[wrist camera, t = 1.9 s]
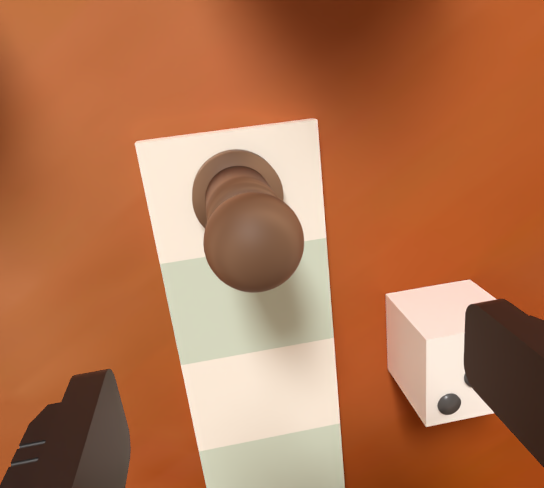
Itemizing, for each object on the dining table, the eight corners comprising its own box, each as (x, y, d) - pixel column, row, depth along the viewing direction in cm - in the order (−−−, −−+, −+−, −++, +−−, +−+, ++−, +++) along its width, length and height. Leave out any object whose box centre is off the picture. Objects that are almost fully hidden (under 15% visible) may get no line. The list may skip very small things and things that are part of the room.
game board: (313, 118, 27) (317, 119, 26) (341, 486, 37) (345, 497, 36) (137, 140, 26) (134, 143, 25) (213, 514, 36) (214, 525, 35)
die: (469, 279, 32) (528, 322, 27) (466, 354, 34) (520, 409, 29) (385, 293, 32) (427, 341, 26) (387, 369, 34) (427, 428, 28)
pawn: (275, 143, 26) (322, 182, 16) (284, 228, 28) (332, 310, 18) (185, 155, 26) (178, 203, 16) (199, 241, 27) (202, 332, 18)
